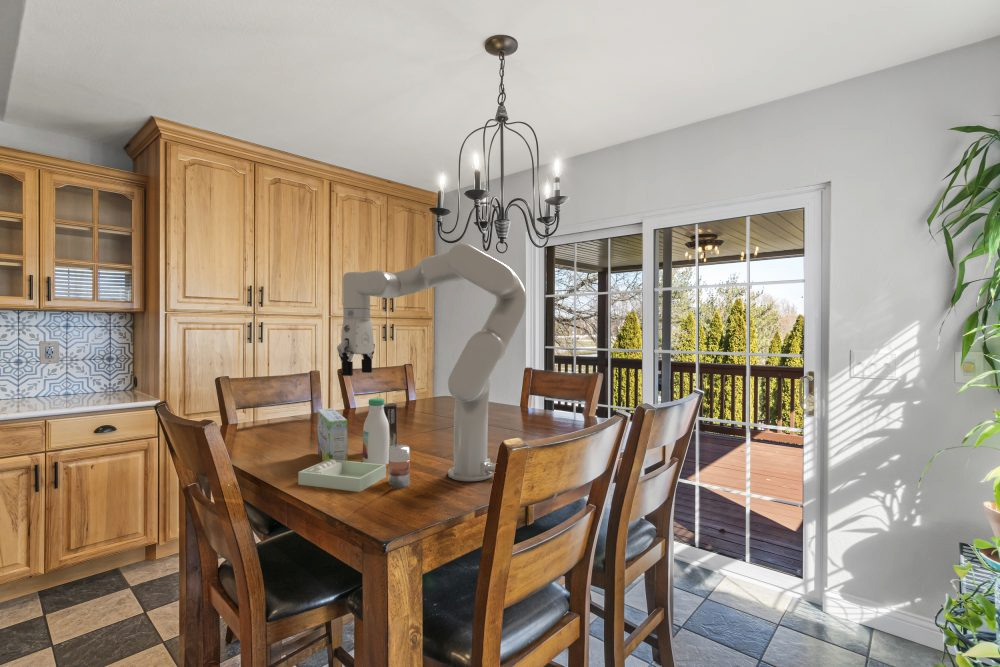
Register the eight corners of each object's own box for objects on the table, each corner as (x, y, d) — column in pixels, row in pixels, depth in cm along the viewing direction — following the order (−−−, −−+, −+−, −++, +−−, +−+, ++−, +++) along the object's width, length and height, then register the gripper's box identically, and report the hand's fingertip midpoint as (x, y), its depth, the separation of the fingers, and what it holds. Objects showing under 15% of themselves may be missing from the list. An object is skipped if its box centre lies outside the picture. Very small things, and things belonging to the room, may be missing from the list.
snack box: (316, 455, 158) (316, 409, 158) (334, 453, 161) (334, 407, 160) (328, 473, 140) (329, 420, 139) (349, 471, 142) (349, 419, 142)
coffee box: (397, 450, 166) (397, 402, 166) (397, 455, 160) (397, 405, 160) (369, 451, 164) (369, 403, 164) (367, 456, 158) (368, 406, 158)
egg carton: (341, 474, 136) (341, 459, 136) (321, 484, 128) (321, 467, 128) (329, 472, 138) (329, 457, 137) (308, 482, 129) (308, 466, 129)
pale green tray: (385, 479, 135) (386, 464, 135) (359, 494, 122) (359, 478, 122) (329, 473, 140) (329, 459, 140) (298, 487, 127) (298, 471, 127)
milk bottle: (392, 462, 152) (393, 397, 151) (384, 469, 144) (384, 401, 144) (368, 461, 152) (368, 396, 152) (358, 468, 145) (359, 400, 144)
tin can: (413, 482, 132) (413, 445, 132) (403, 489, 127) (403, 450, 127) (394, 480, 134) (395, 444, 134) (384, 487, 129) (384, 448, 128)
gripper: (350, 314, 134) (350, 377, 134) (383, 315, 150) (384, 371, 150) (326, 314, 136) (327, 376, 136) (362, 315, 152) (363, 371, 153)
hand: (357, 374), depth 143 cm, fingers open, 9 cm apart
